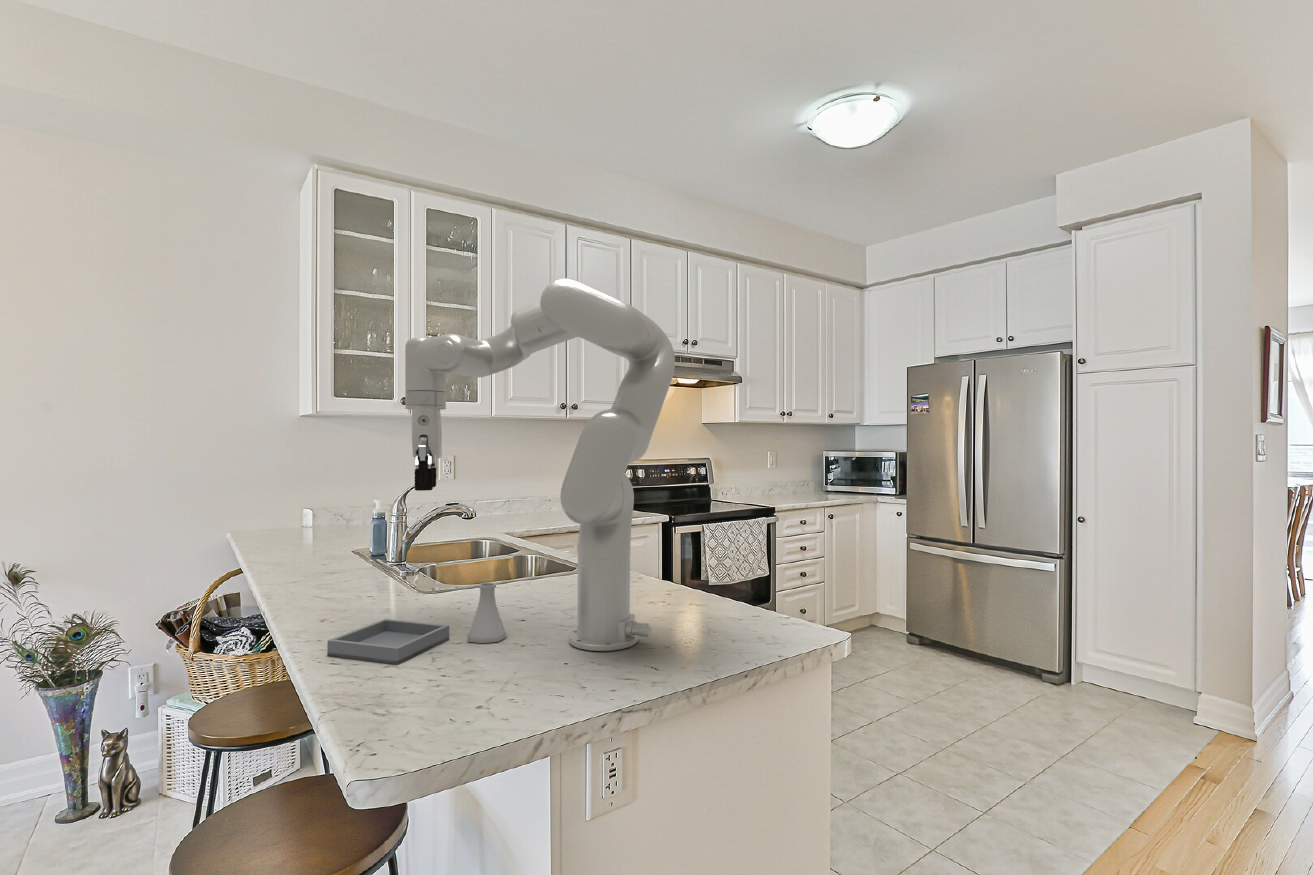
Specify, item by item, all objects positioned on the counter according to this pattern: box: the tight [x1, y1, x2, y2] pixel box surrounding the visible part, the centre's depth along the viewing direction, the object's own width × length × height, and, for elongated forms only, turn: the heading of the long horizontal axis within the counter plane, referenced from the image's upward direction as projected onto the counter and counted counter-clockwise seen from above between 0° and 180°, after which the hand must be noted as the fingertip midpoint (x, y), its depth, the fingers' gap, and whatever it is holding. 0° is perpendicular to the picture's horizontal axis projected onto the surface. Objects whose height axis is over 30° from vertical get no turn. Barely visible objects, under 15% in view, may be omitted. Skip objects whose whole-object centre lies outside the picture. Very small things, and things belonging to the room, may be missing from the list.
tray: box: [326, 618, 450, 666], centre depth 113 cm, size 14×14×3 cm
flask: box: [467, 582, 507, 644], centre depth 119 cm, size 7×7×10 cm
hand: (425, 488), depth 127 cm, fingers open, 9 cm apart
